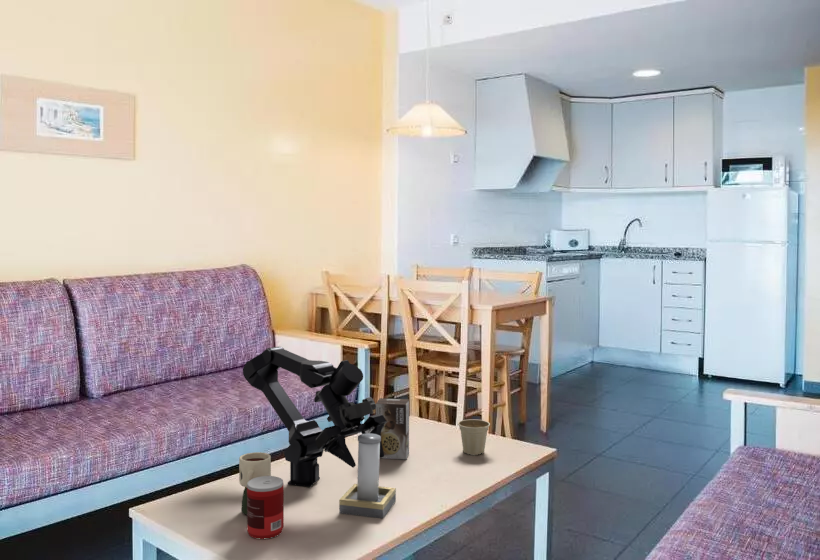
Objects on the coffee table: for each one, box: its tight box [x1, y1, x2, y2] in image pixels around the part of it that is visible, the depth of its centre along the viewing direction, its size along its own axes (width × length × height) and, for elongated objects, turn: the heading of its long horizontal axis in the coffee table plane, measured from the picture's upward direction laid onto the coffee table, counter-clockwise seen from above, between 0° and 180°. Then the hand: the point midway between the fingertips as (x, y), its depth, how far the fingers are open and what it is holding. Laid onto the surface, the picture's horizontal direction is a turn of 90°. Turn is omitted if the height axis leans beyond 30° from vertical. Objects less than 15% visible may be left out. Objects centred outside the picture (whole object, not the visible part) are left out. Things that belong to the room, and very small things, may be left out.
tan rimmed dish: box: [338, 483, 397, 519], centre depth 165 cm, size 10×10×3 cm
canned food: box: [246, 475, 285, 540], centre depth 151 cm, size 8×8×11 cm
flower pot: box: [457, 418, 491, 456], centre depth 207 cm, size 9×9×9 cm
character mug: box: [238, 451, 272, 515], centre depth 161 cm, size 11×7×13 cm, turn 178°
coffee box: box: [375, 397, 410, 460], centre depth 203 cm, size 9×6×16 cm
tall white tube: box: [356, 433, 381, 502], centre depth 165 cm, size 5×5×15 cm
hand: (368, 461), depth 165 cm, fingers open, 9 cm apart
